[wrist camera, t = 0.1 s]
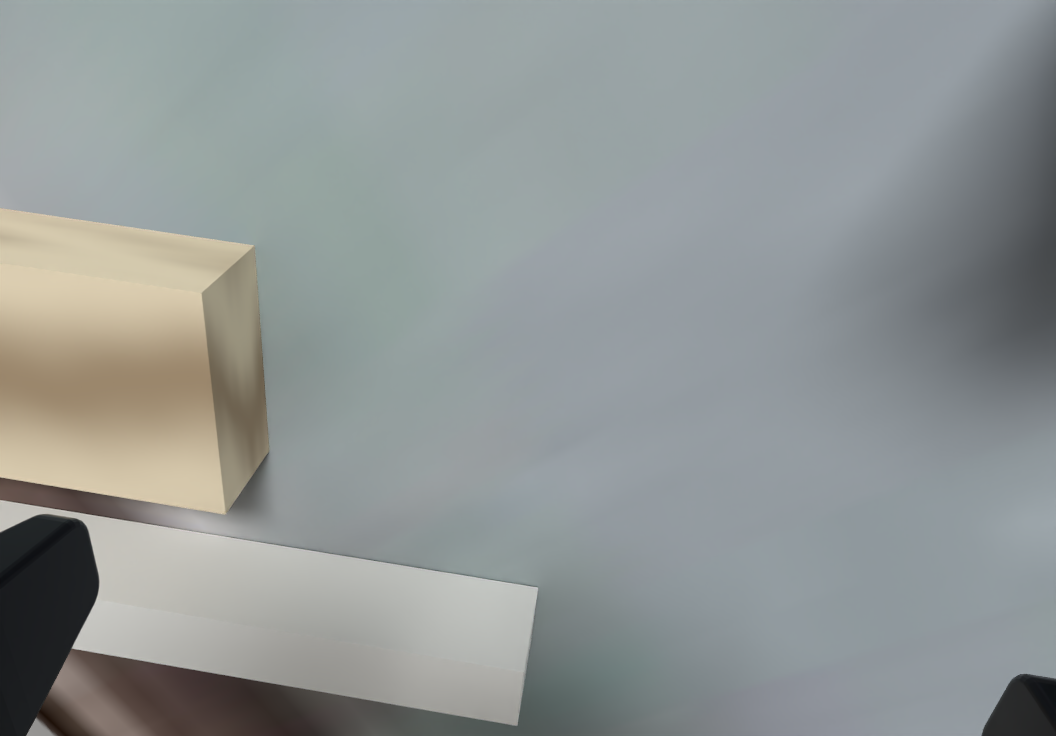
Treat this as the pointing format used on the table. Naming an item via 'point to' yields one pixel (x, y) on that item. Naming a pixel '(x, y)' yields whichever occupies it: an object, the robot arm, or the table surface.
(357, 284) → the table surface
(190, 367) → the birch block
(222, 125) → the table surface
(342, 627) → the off-white board
